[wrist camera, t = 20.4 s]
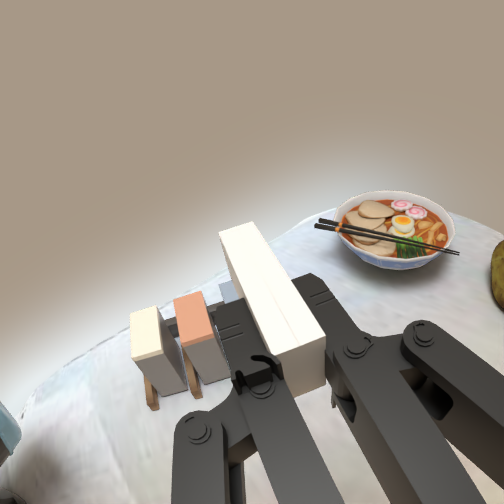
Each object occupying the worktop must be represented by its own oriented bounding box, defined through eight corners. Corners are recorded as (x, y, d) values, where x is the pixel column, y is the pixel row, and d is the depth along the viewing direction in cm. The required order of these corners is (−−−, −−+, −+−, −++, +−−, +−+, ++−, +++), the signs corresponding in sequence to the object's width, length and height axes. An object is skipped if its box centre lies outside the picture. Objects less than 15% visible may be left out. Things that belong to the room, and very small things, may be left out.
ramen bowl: (457, 233, 57) (464, 199, 53) (445, 311, 43) (457, 272, 39) (352, 211, 71) (351, 178, 66) (308, 273, 57) (305, 235, 52)
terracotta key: (231, 376, 42) (213, 333, 37) (204, 384, 42) (180, 343, 36) (218, 335, 49) (200, 290, 43) (194, 343, 48) (173, 299, 42)
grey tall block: (187, 389, 42) (161, 349, 36) (161, 396, 41) (131, 357, 35) (179, 348, 48) (156, 305, 42) (156, 355, 47) (129, 313, 42)
